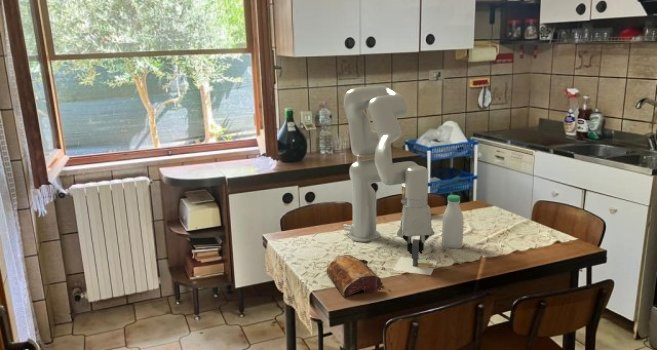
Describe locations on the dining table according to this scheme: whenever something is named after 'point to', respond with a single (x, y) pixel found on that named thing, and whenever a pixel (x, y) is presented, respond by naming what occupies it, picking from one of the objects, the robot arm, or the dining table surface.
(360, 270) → the cured meat
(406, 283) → the dining table surface
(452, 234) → the milk bottle
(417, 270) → the board
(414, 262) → the dark grey blocky piece
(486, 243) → the dining table surface
